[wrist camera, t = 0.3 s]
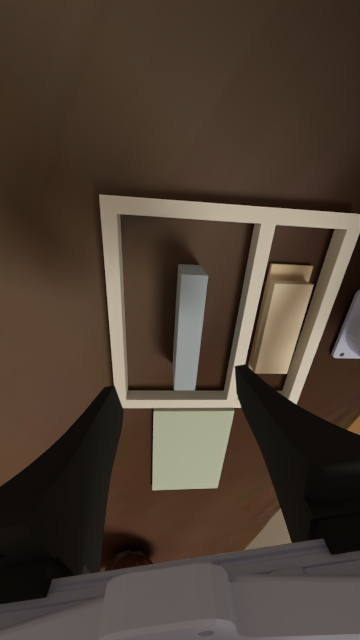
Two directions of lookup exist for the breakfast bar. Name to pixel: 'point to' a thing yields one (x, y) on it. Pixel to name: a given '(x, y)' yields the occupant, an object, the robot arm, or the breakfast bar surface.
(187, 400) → the rack
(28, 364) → the breakfast bar surface
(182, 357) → the grey rectangular block
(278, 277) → the offcut lower
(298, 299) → the offcut upper
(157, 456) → the mat
